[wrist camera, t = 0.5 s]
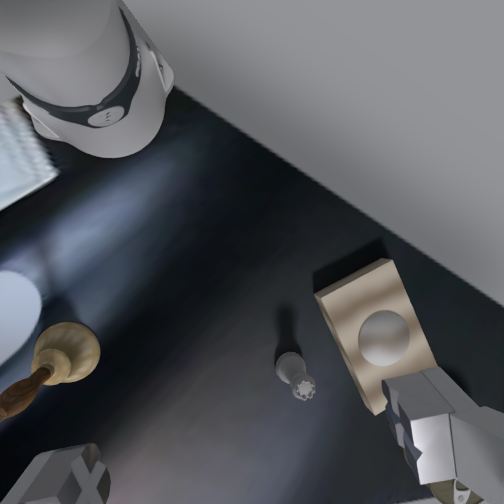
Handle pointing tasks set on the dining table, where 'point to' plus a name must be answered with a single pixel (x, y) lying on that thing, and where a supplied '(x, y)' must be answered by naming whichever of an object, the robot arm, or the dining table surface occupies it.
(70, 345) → the hand bell
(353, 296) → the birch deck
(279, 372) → the rook chess piece
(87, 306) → the dining table surface
